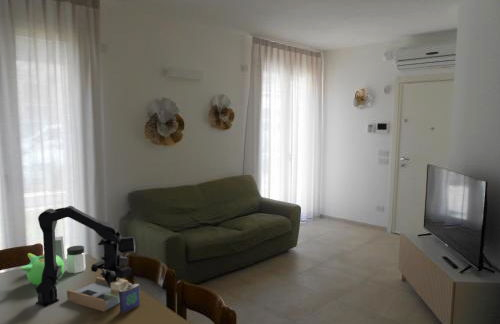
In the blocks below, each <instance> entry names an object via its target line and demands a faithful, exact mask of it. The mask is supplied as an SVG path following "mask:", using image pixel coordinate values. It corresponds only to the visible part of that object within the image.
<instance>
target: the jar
mask: <svg viewBox="0 0 500 324" xmlns="http://www.w3.org/2000/svg"><path fill="white" fill-rule="evenodd" d="M66 268H67V273H68V274H69V273H70V274H78V273H82V272H85V270H86V268H87V267H86V251H85V246H83V245H72V246H70V247H67V248H66Z"/></svg>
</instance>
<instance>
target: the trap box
mask: <svg viewBox="0 0 500 324" xmlns="http://www.w3.org/2000/svg"><path fill="white" fill-rule="evenodd" d="M66 298H67V301H68V302H71V303H74V304H78V305H80V306H81V305H82V306H84V307H87V308H91V309H93V310H97V311H100V312H106V311H108V310H110V309H111V308H113V307H114V306H115V307H116V306H117V305H118V304H119V305H120V299H119V296H116V295H113V294H111V288H110V287H109V285H108V284H107V282H106V280H105V279H104V278H103V277H98V276H96V277H95V282H92V283H91V284H88V285H86V286H84V287H81V288H79V289H77V290H72V289H67V290H66Z"/></svg>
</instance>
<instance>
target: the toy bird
mask: <svg viewBox="0 0 500 324" xmlns="http://www.w3.org/2000/svg"><path fill="white" fill-rule="evenodd" d="M27 258H28V259H29V260H30V262H29V263H28V264H25V265H23V266H21V267H19V269H20V270H21V271H24V272H26V276H27V280H28V281H29V282H30V283H31V284H33V285H35V286H36V287H37V286H38V285H39V284H40V283H41V279H42V273H43V270H44V266H45V263H44V253H43V254H40V255H38V256H37V255H35V254H33V253H31V252H29V253H27ZM56 262H57V265H58V266H60V265H62V268H61V272H62V275H61V276H60V278H59V280H60V279H61V278H62V276H63V275H64V273H65V265H64V262H63V260H62V259H61V258H60V257H59V256H57V255H56Z"/></svg>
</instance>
